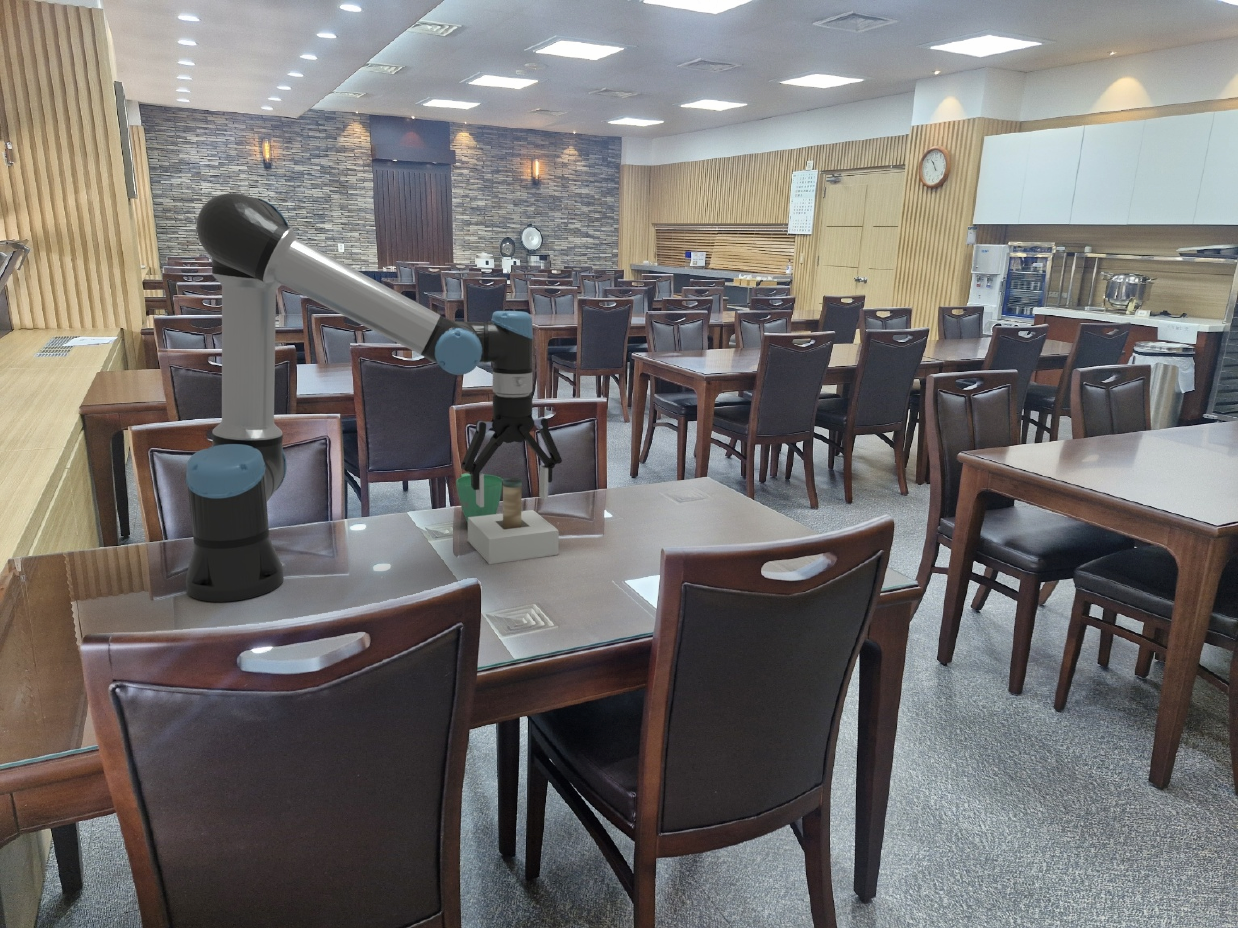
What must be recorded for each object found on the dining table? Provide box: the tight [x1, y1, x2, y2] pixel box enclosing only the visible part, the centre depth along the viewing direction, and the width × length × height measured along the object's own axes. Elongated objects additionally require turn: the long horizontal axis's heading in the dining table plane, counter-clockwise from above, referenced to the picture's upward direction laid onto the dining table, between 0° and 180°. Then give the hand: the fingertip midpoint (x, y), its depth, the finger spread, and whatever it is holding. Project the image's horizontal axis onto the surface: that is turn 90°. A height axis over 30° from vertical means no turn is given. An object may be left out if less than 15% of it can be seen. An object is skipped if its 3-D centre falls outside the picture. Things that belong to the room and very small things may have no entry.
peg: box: [502, 477, 523, 529], centre depth 160 cm, size 4×4×14 cm
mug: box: [455, 472, 504, 524], centre depth 175 cm, size 15×10×10 cm
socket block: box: [467, 509, 560, 565], centre depth 161 cm, size 14×14×5 cm
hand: (512, 501), depth 159 cm, fingers open, 12 cm apart
